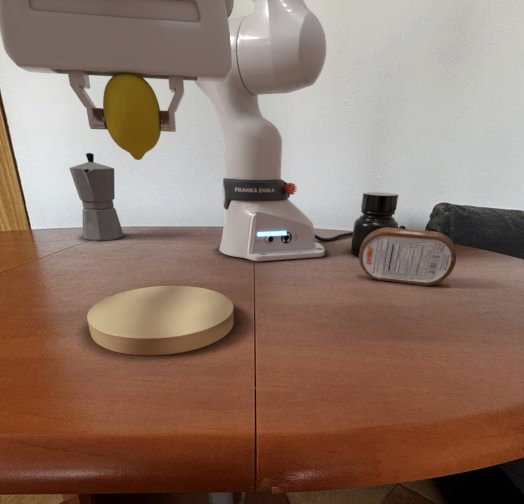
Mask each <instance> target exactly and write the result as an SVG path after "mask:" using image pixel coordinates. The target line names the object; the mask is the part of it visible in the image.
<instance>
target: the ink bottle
mask: <svg viewBox="0 0 524 504" xmlns="http://www.w3.org/2000/svg"><path fill="white" fill-rule="evenodd" d="M398 200H399V194H397V193H392V192H376V191H375V192H373V191H371V192H370V191H369V192H368V191H367V192H363V193H362V200H361V205H360V206H361V207H360V209H361V210H360V212H361V214H362V215H360V216H359V217H357V219H355V220H354V223H353V228H352V232H353V235H352V237H351V243H350V252H351V254H353V255H354V256H357V257H359V252H360V248H361V245H362V243H363V241H364V239H365V238H366V237H367V236H368V235H369V234H370V233H372V232H373V231H375V230H377V229H381V228H399V223H398V221H397V220H395V219H396V218H395V217H394V215H395V214H396V211H397V205H398Z"/></svg>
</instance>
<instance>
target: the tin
mask: <svg viewBox="0 0 524 504" xmlns="http://www.w3.org/2000/svg"><path fill="white" fill-rule="evenodd" d="M398 228H399V227H398ZM398 228H381V229H377V230H375V231H373V232H372V233H370V234H369V235H368V236H367V237H366V238H365V239H364V241H363V243H362V245H361V248H360V252H359V256H358V261H359V265H360V268H361V270H362V271H363V272H364V273H365V274H366V275H367V276H368V277H369V278H372V279H373V280H377V281H383V282H390V283H391V282H393V283H400V284H401V283H402V284H409V285H417V286H434V285H436V284H439V283H441V282H442V281H444V280H446V279H447V278H448V277H449V276H450V275H451V274H452V273H453V270H454V268H455V266H456V263H457V250H456V246H455V244H454V242H453V241H452V240H451V238H450V237H449V236H447V235H445V234H444V233H441V232H439V231H430V230H420V229H419V230H417V229H407V228H406V229H398Z"/></svg>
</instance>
